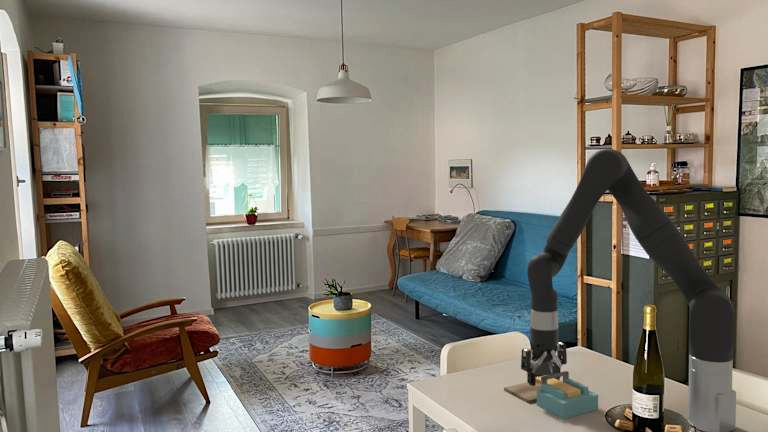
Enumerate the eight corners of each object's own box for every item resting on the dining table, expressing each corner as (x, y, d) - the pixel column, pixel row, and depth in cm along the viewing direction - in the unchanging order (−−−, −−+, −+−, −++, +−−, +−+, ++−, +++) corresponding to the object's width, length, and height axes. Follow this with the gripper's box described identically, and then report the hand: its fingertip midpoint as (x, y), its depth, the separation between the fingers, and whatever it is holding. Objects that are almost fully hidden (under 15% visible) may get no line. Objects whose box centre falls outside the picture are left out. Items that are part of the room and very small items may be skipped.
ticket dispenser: (598, 409, 154) (598, 381, 154) (563, 418, 149) (562, 389, 149) (570, 396, 163) (570, 370, 163) (536, 405, 158) (536, 377, 158)
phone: (550, 359, 193) (555, 375, 179) (550, 362, 193) (555, 378, 179) (526, 358, 195) (528, 374, 180) (526, 362, 195) (528, 377, 180)
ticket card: (580, 394, 155) (580, 389, 155) (567, 397, 153) (567, 393, 153) (547, 379, 166) (547, 375, 166) (534, 382, 164) (534, 377, 164)
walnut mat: (568, 393, 166) (568, 391, 166) (528, 403, 160) (528, 400, 160) (542, 381, 176) (542, 379, 176) (503, 390, 170) (503, 387, 169)
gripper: (532, 332, 156) (532, 391, 158) (573, 325, 162) (573, 382, 164) (514, 325, 163) (515, 382, 164) (554, 319, 169) (554, 374, 170)
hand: (544, 382), depth 164 cm, fingers open, 8 cm apart
